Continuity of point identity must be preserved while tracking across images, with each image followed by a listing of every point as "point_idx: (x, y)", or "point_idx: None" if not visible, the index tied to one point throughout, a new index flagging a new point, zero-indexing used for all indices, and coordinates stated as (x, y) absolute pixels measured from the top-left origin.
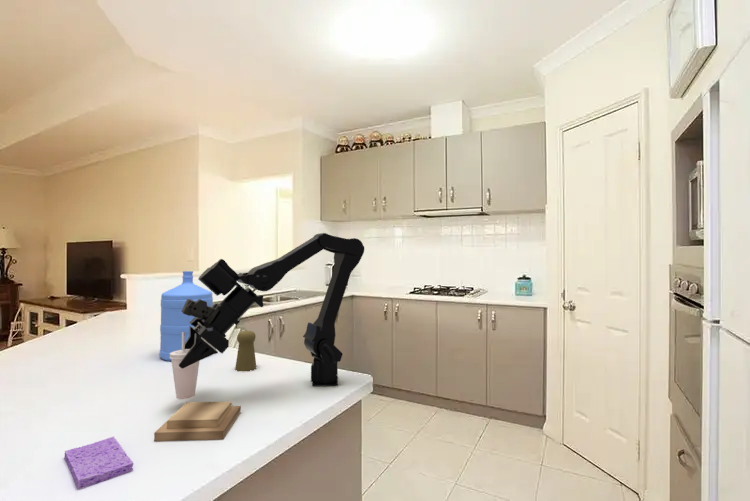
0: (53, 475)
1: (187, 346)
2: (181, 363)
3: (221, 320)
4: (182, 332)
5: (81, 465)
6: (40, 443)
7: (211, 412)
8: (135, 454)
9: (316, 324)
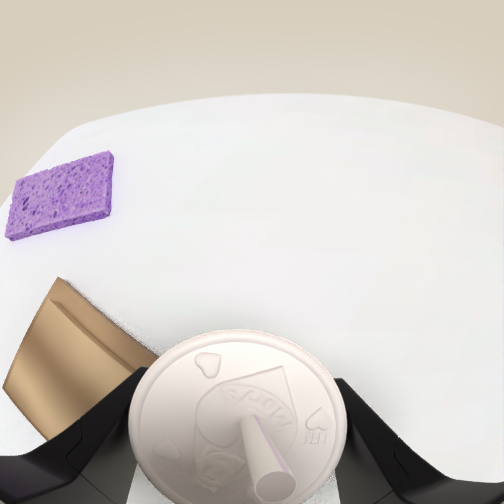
0: (72, 155)
1: (360, 456)
2: (129, 377)
3: None
4: (257, 473)
5: (45, 177)
6: (201, 123)
7: (37, 398)
8: (45, 247)
9: None
